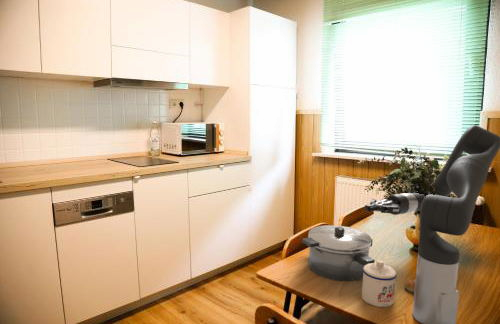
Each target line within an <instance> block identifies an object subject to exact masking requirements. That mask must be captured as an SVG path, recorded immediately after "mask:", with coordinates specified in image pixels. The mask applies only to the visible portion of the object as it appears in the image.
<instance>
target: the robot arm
mask: <svg viewBox="0 0 500 324" xmlns="http://www.w3.org/2000/svg"><path fill="white" fill-rule="evenodd" d="M499 151H500V136H499V135H498V134H496V133H494V132H492V131H490V130H487V129H485V128H483V127H481V126H479V125H475V124H473V125H470V126H469V127H467V129H466V130H465V131H464V132H463V133H462V134H461V136H460V138H459V140H458V141H457V143H456V145H455V146H454V147H453V150H452V151H451V153H450V155H449V157H448V158H447V161H446V162H445V164H444V166H443V167H442V169H441V171H440V172H439V174H438V175H437V176H436V177H437V178H435V179H436V181H435V195H433V194H428V195H426V196H425V195H424V194H419V193H415V192H409V193H408V192H407V193H405V192H404V193H396V194H395V193H394V194H389V195H388V196H387V197H386V199H381V200H377V199H376V198H372V199H371V200H370V201H369V204H365V205H364V211H365V212H367V213H371V212H377V213H379V212H380V213H381V214H390V215H393V216H398V215H404V214H409V213H413V212H418V211H420V212H419V233H418V234H419V235H418V250H417V251H418V252H417V262H416V263H417V264H416V271H415V273H416V274H415V280H416V281H415V291H414V293H413V304H412V305H413V306H412V316H413V318H414V319H415V320H416V321H417V322H419V323H420V324H456V323H457V314H458V307H459V297H460V291H459V290H458V289H457V282H458V281H457V280H458V272H459V271H458V270H459V262H460V250H459V248H457V247H456V246H455V245H454V244H452V243H450V242H448V241H446V239H444V238H442V236H440V235H439V234H438V233H442V234H446V235H451V236H457V237H461V236H463V235H465V234H466V232H467V231H468V230H469V228H470V225H471V222H472V218H473V215H474V211H475V207H476V203H477V200H478V198H479V195H480V193H481V191H482V188H483V187H484V185H485V182H486V179H487V177H488V174H489V171H490V168H491V165H492V163H493V161H494V160H495V157H496V156H497V154H498V152H499ZM464 153H466V154H467V155H463V154H464ZM451 193H453V194H454V196H455V197H452V196H451ZM448 196H450V197H448Z"/></svg>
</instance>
